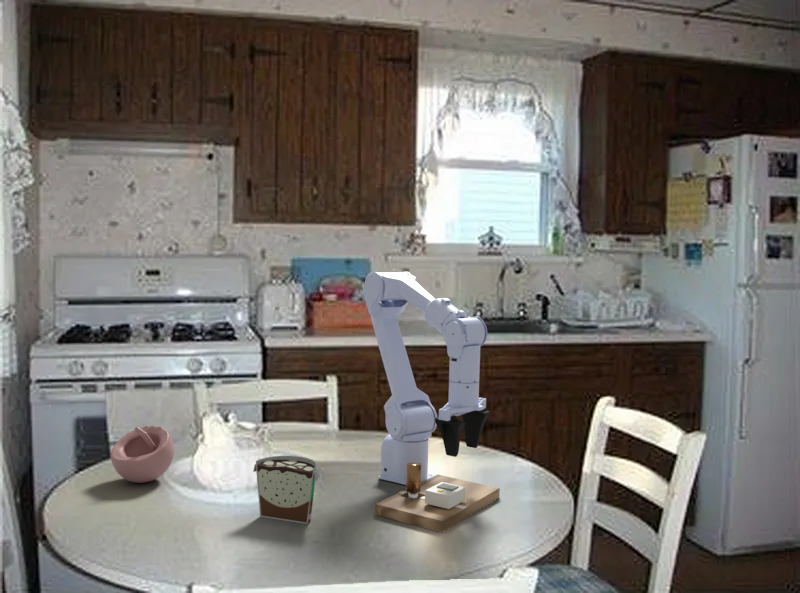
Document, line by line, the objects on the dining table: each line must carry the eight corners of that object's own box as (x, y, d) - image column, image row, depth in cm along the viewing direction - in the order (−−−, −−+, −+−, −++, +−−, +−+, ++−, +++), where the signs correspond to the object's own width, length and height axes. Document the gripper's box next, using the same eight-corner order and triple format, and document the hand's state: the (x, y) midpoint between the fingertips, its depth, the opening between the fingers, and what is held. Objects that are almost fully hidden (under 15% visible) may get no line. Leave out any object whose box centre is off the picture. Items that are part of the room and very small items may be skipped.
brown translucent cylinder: (402, 506, 144) (403, 464, 143) (410, 502, 146) (411, 461, 145) (415, 509, 142) (416, 467, 142) (423, 505, 145) (424, 463, 144)
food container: (330, 513, 139) (331, 459, 138) (315, 525, 133) (316, 468, 132) (269, 504, 143) (270, 451, 142) (252, 515, 137) (253, 460, 136)
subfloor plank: (375, 514, 139) (375, 503, 139) (437, 484, 157) (437, 474, 157) (442, 532, 131) (442, 520, 131) (499, 498, 150) (499, 487, 150)
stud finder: (424, 503, 139) (425, 489, 139) (441, 494, 144) (441, 480, 144) (448, 509, 136) (449, 494, 136) (465, 500, 141) (465, 486, 141)
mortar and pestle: (97, 485, 151) (97, 428, 150) (139, 469, 162) (139, 415, 161) (146, 494, 147) (146, 435, 146) (186, 477, 158) (186, 422, 157)
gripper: (463, 389, 138) (460, 463, 139) (500, 378, 150) (498, 446, 150) (429, 384, 142) (428, 456, 143) (469, 373, 154) (467, 440, 155)
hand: (462, 451), depth 147 cm, fingers open, 7 cm apart
